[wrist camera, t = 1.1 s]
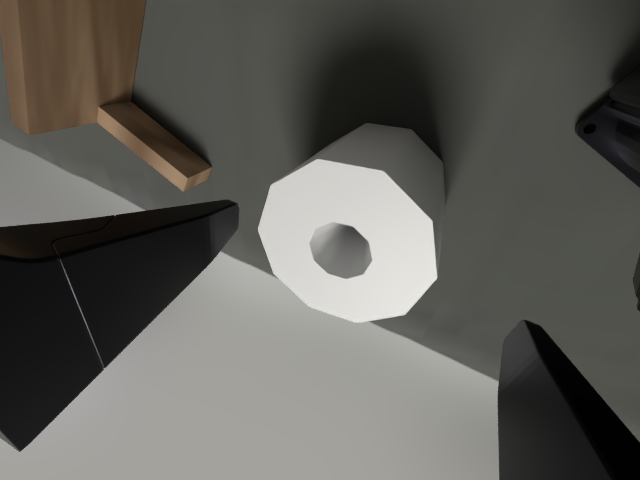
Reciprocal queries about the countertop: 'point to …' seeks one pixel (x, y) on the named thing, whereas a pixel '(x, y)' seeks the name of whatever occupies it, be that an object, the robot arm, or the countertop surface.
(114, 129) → the roll cradle
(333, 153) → the toilet tissue
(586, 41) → the countertop surface
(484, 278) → the countertop surface
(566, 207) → the countertop surface
